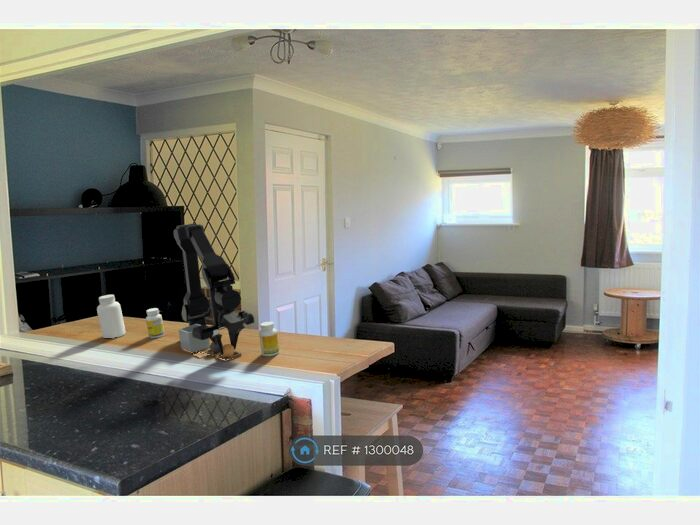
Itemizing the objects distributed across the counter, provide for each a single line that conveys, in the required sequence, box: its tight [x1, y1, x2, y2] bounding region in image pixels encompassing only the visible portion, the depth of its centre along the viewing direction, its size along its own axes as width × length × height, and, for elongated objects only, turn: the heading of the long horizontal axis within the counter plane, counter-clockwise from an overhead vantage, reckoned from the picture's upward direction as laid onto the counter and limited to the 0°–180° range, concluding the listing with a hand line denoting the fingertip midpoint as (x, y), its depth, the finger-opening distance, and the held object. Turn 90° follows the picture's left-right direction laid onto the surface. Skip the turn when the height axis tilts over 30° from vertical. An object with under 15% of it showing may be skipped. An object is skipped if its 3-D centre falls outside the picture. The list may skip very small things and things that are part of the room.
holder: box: [204, 349, 242, 360], centre depth 173 cm, size 12×6×1 cm, turn 44°
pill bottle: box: [96, 294, 126, 339], centre depth 203 cm, size 8×8×15 cm
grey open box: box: [177, 324, 211, 353], centre depth 181 cm, size 7×7×7 cm
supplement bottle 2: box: [258, 321, 280, 357], centre depth 169 cm, size 5×5×10 cm
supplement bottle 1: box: [145, 307, 166, 339], centre depth 198 cm, size 5×5×10 cm
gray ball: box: [209, 341, 224, 354], centre depth 175 cm, size 4×4×4 cm
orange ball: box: [222, 343, 235, 358], centre depth 171 cm, size 4×4×4 cm
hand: (228, 352), depth 171 cm, fingers closed on orange ball, 4 cm apart
